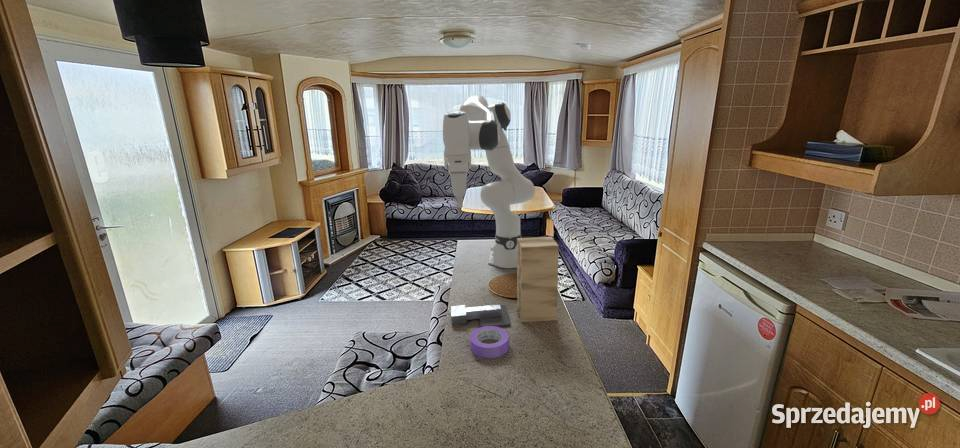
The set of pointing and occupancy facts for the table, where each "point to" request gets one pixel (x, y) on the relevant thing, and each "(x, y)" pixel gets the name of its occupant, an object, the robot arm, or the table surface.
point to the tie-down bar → (473, 313)
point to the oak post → (537, 278)
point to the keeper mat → (497, 319)
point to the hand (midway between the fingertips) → (459, 203)
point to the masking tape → (489, 349)
